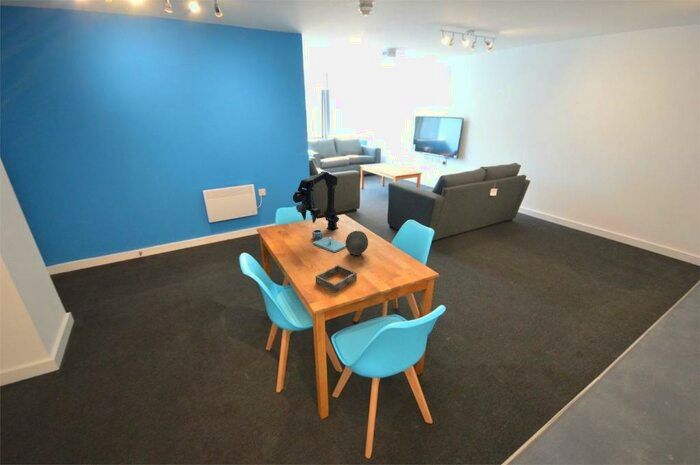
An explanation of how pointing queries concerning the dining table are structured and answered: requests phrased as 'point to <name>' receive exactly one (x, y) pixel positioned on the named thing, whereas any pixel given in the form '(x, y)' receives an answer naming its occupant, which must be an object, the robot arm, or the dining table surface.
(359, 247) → the dark grey ball
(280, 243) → the dining table surface
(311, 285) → the dining table surface
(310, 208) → the robot arm
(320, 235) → the block
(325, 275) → the frame
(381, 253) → the dining table surface
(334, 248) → the shaft base
